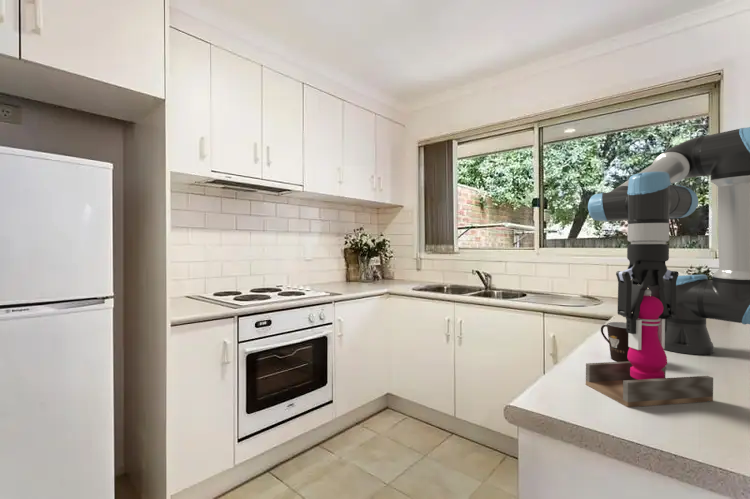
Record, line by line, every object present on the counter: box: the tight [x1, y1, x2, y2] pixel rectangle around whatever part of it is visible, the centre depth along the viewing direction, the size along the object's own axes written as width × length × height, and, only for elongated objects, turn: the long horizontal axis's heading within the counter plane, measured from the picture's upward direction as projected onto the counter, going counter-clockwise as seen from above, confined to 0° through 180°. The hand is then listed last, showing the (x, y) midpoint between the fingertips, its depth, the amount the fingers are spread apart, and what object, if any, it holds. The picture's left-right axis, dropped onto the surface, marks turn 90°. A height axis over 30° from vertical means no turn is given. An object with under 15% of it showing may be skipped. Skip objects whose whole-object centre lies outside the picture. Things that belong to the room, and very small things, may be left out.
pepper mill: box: [627, 288, 668, 380], centre depth 85 cm, size 7×7×20 cm
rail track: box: [585, 361, 714, 408], centre depth 85 cm, size 20×12×5 cm, turn 98°
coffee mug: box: [600, 321, 630, 362], centre depth 109 cm, size 12×9×10 cm
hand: (646, 347), depth 85 cm, fingers closed on pepper mill, 5 cm apart
